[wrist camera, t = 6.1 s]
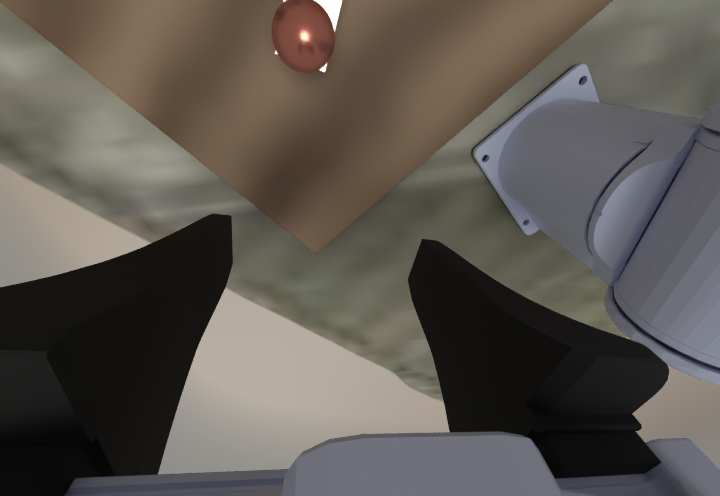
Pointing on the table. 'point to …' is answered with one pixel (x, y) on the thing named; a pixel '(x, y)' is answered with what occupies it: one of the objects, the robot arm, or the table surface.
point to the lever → (305, 33)
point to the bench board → (309, 87)
